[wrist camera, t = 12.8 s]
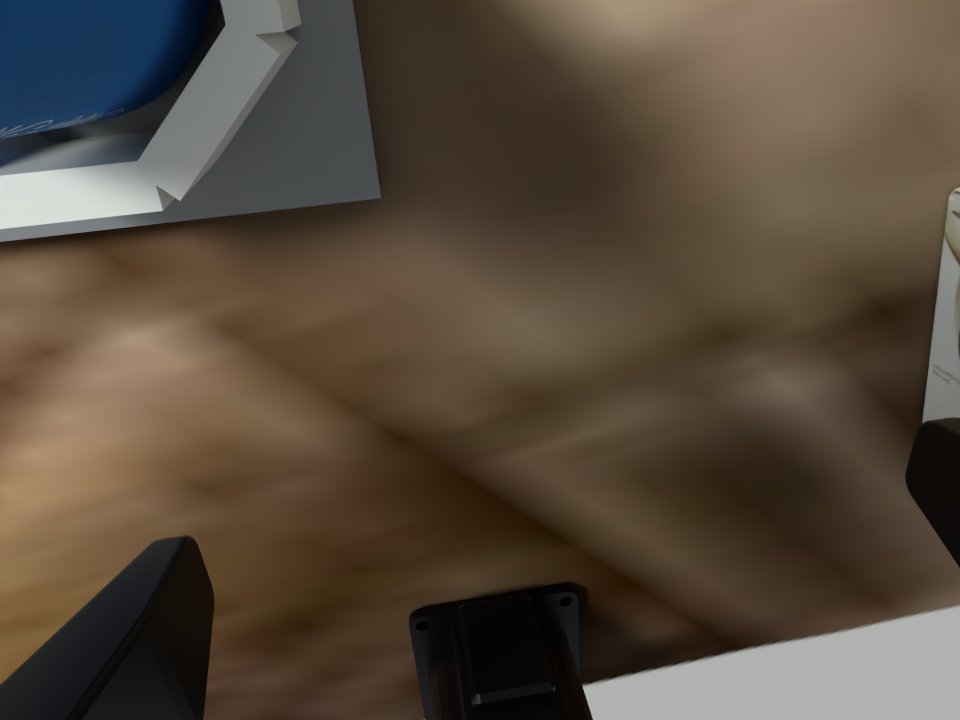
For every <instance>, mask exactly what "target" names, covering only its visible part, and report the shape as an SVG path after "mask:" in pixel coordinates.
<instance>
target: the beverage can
mask: <svg viewBox="0 0 960 720" xmlns="http://www.w3.org/2000/svg"><path fill="white" fill-rule="evenodd" d="M209 3H210V0H0V139H4V138H10V137H15V136H21V135H26V134H31V133H37V132H42V131H48V130H53V129H58V128H64V127H69V126H75V125H80V124H85V123H91V122H96V121H101V120H106V119H110V118H114V117H119V116H121V115H124V114H127V113H129V112H132V111H134V110H137V109H139V108H140V107H142V106H144V105H146V104H147V103H149V102H151V101H153V100H154V99H155V98H157V97H158V96H159V95H160V94H162V93H163V92H164V91H165V90H167V89H168V88H169V87H170V86H171V85H172V84H173V83H174V81H175V80H176V79H177V78H178V77H179V76H180V75H181V74H182V72H183V71H184V69H185V68H186V66H187V65H188V63H189V62H190V60H191V59H192V57H193V55H194V53H195V51H196V49H197V47H198V44H199V42H200V40H201V37H202V34H203V31H204V27H205V24H206V21H207V15H208V9H209Z"/></svg>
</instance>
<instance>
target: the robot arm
mask: <svg viewBox="0 0 960 720" xmlns="http://www.w3.org/2000/svg"><path fill="white" fill-rule="evenodd" d="M905 477H906V484H907V487H908V490H909V492H910V494H911V496H912V497H913V499H914V500H915V502H916V503H917V505H918V506H919V508H920V509H921V511H922V512H923V514H924V515H925V517H926V518H927V520H928V521H929V523H930V524H931V526H932V527H933V529H934V530H935V532H936V533H937V535H938V536H939V538H940V539H941V540H942V542H943V543H944V545H945V546H946V548H947V549H948V551H949V552H950V554H951V555H952V557H953V558H954V560H955V561H956V563H957V564H958V566H959V567H960V418H956V417H949V418H943V419H936V420H930V421H926V422H924V423H922V424H921V425H920V426H919V427H918V429H917V431H916V433H915V437H914V441H913V445H912V449H911V453H910V457H909V461H908V465H907V469H906V474H905ZM564 597H567V598H564ZM562 598H564V599H562ZM213 613H214V593H213V588H212V584H211V581H210V578H209V576H208V573H207V570H206V567H205V564H204V561H203V558H202V555H201V553H200V550H199V547H198V544H197V542H196V541H195V540H194V538H193V537H191V536H188V535H184V536H177V537H171V538H164V539H159V540H156V541H154V542H152V543H151V544H150V545H149V546H148V547H147V548H146V549H144V550H143V551H142V552H141V553H140V554H139V555H138V556H137V557H136V558H135V559H134V560H133V561H132V562H131V563H130V564H128V565H127V566H126V567H125V568H124V569H123V570H122V571H121V572H120V573H119V574H118V575H117V576H116V577H115V578H114V579H113V580H111V581H110V582H109V583H108V584H107V585H106V586H105V587H104V588H103V589H102V590H101V591H100V592H99V593H98V594H97V595H95V596H94V597H93V598H92V599H91V600H90V601H89V602H88V603H87V604H86V605H85V606H84V607H83V608H82V609H81V610H79V611H78V612H77V613H76V614H75V615H74V616H73V617H72V618H71V619H70V620H69V621H68V622H67V623H66V624H65V625H64V626H62V627H61V628H60V629H59V630H58V631H57V632H56V633H55V634H54V635H53V636H52V637H51V638H50V639H49V640H48V641H46V642H45V643H44V644H43V645H42V646H41V647H40V648H39V649H38V650H37V651H36V652H35V653H34V654H33V655H32V656H31V657H29V658H28V659H27V660H26V661H25V662H24V663H23V664H22V665H21V666H20V667H19V668H18V669H17V670H16V671H15V672H13V673H12V674H11V675H10V676H9V677H8V678H7V679H6V680H5V681H4V682H3V683H2V684H1V685H0V720H203V717H204V707H205V697H206V687H207V676H208V666H209V655H210V645H211V634H212V624H213ZM421 621H426V622H424V623H419V622H421ZM409 628H410V634H411V639H412V645H413V651H414V656H415V662H416V668H417V673H418V679H419V685H420V690H421V696H422V702H423V707H424V713H425V719H426V720H593V719H592V715H591V712H590V709H589V706H588V703H587V700H586V696H585V694H584V690H583V687H582V684H581V681H580V652H579V599H578V596H577V593H576V590H575V588H574V587H573V586H571V585H568V584H563V585H557V586H551V587H545V588H539V589H533V590H527V591H521V592H515V593H509V594H503V595H497V596H492V597H486V598H480V599H474V600H468V601H462V602H456V603H450V604H444V605H438V606H432V607H426V608H420V609H417V610H415V611H414V612H412V613H411V615H410V616H409Z"/></svg>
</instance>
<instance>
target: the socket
mask: <svg viewBox="0 0 960 720" xmlns="http://www.w3.org/2000/svg"><path fill="white" fill-rule="evenodd" d="M379 198H381V193H380V185H379V178H378V171H377V164H376V157H375V150H374V143H373V136H372V129H371V122H370V115H369V108H368V102H367V95H366V88H365V81H364V74H363V67H362V60H361V53H360V46H359V39H358V32H357V26H356V19H355V12H354V5H353V0H210V3H209V9H208V15H207V21H206V24H205V27H204V31H203V34H202V37H201V40H200V42H199V44H198V47H197V49H196V51H195V53H194V55H193V57H192V59H191V60H190V62H189V63H188V65H187V66H186V68H185V69H184V71H183V72H182V74H181V75H180V76H179V77H178V78H177V79H176V80H175V81H174V83H173V84H172V85H171V86H170V87H169V88H168V89H167V90H165V91H164V92H163V93H162V94H160V95H159V96H158V97H157V98H155V99H154V100H153V101H151V102H149V103H147V104H146V105H144V106H142V107H140V108H139V109H137V110H134V111H132V112H129V113H127V114H124V115H121V116H119V117H114V118H110V119H106V120H101V121H96V122H91V123H85V124H80V125H75V126H69V127H64V128H58V129H53V130H48V131H42V132H37V133H31V134H26V135H21V136H15V137H10V138H4V139H0V242H3V241H12V240H21V239H29V238H38V237H47V236H56V235H64V234H73V233H82V232H90V231H99V230H108V229H117V228H125V227H134V226H143V225H152V224H160V223H169V222H178V221H187V220H195V219H204V218H213V217H222V216H230V215H239V214H248V213H256V212H265V211H274V210H283V209H291V208H300V207H309V206H318V205H326V204H335V203H344V202H353V201H361V200H370V199H379Z"/></svg>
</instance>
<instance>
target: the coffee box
mask: <svg viewBox="0 0 960 720" xmlns="http://www.w3.org/2000/svg"><path fill="white" fill-rule="evenodd" d="M949 417H956V418H960V187H958V188H956V189H955V190H954V191H953V192H952V193H951V194H950V196H949V199H948V206H947V214H946V223H945V231H944V240H943V248H942V257H941V265H940V274H939V282H938V291H937V300H936V308H935V316H934V325H933V334H932V342H931V351H930V360H929V370H928V378H927V386H926V394H925V402H924V411H923V421H922V422H923V423H924V422H926V421H930V420H936V419H943V418H949Z"/></svg>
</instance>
